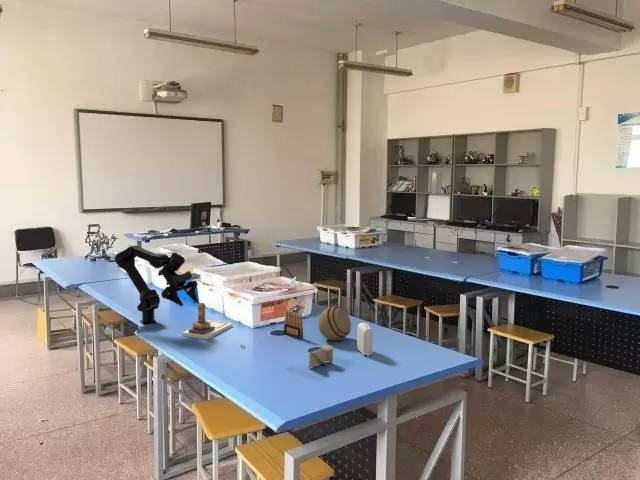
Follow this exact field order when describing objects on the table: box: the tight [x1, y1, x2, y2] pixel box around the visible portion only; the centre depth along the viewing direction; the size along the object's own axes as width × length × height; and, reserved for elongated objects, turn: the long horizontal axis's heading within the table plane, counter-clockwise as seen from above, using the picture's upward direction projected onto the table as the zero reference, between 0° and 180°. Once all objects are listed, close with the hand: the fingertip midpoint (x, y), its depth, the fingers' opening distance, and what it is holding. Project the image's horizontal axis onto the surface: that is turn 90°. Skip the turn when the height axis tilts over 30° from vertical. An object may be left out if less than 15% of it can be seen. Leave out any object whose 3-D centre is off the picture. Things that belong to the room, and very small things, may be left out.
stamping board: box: [181, 319, 234, 340], centre depth 254 cm, size 22×13×2 cm, turn 159°
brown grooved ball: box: [318, 306, 352, 342], centre depth 244 cm, size 15×15×15 cm
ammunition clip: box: [283, 308, 304, 340], centre depth 248 cm, size 11×2×12 cm, turn 48°
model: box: [308, 345, 334, 369], centre depth 212 cm, size 3×11×8 cm, turn 141°
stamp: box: [192, 302, 210, 331], centre depth 248 cm, size 6×6×12 cm
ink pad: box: [188, 326, 215, 335], centre depth 249 cm, size 9×8×1 cm
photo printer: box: [356, 322, 374, 356], centre depth 228 cm, size 10×4×12 cm, turn 14°
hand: (189, 303), depth 251 cm, fingers open, 9 cm apart
